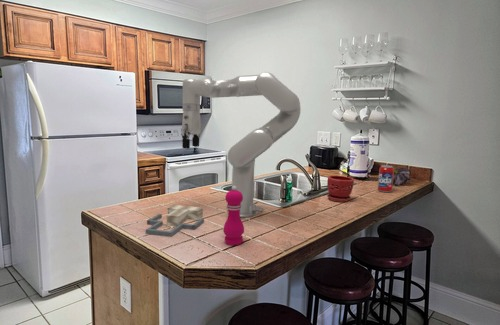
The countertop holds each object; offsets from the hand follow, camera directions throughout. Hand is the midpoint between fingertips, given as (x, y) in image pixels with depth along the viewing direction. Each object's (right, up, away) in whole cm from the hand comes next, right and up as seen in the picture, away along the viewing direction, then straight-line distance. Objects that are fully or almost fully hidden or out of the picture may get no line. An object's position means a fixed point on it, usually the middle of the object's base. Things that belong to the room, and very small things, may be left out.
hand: (191, 147), depth 147 cm
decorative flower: (+122, -21, +67) cm, 141 cm away
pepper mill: (+21, -35, -32) cm, 51 cm away
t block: (-3, -31, -10) cm, 32 cm away
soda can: (+105, -24, +46) cm, 118 cm away
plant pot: (+73, -27, +26) cm, 82 cm away
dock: (-5, -32, -18) cm, 37 cm away
